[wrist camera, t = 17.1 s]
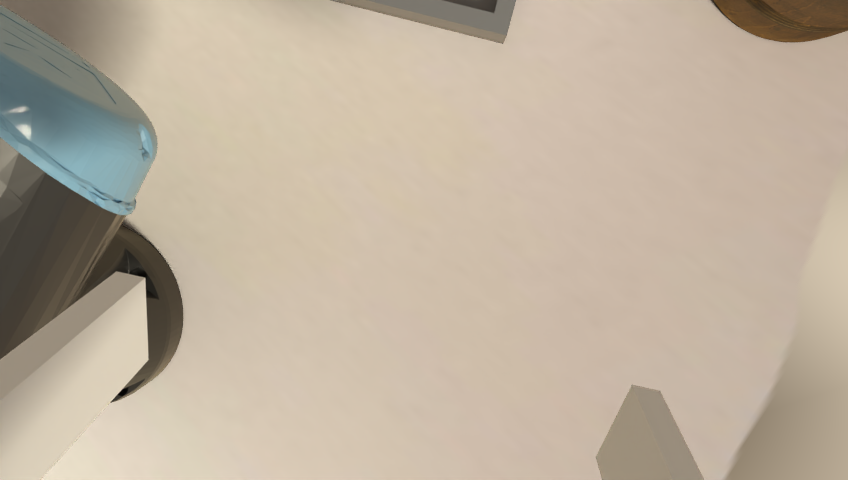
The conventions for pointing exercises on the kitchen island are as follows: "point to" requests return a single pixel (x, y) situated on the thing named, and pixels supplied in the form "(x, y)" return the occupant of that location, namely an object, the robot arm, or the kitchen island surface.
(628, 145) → the kitchen island surface
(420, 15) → the tray
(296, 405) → the kitchen island surface
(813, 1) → the wooden container
